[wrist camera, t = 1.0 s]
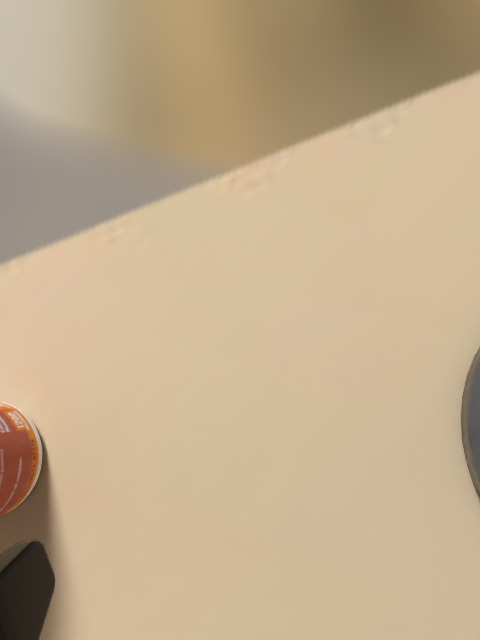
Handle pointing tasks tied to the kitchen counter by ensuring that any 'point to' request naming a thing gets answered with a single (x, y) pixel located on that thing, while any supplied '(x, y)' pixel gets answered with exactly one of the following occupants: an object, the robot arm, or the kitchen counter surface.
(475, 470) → the crown on disc
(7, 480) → the pill bottle
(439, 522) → the kitchen counter surface
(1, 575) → the robot arm
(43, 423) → the kitchen counter surface
